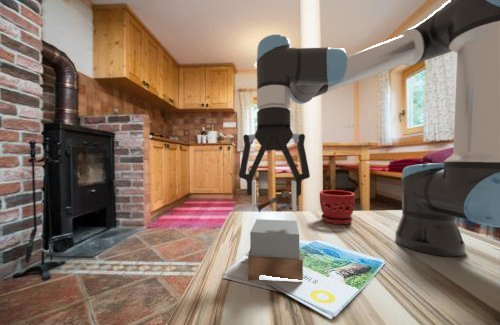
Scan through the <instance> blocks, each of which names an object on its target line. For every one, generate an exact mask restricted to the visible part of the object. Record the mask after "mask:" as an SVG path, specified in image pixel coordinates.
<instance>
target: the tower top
mask: <svg viewBox="0 0 500 325" xmlns="http://www.w3.org/2000/svg"><path fill="white" fill-rule="evenodd" d="M299 231H300V230H299V227H298V222H297V220H285V219H284V220H283V219H256V220H255V222H254V224H253V226H252V228H251V230H250V233H249V235H250V237H249V238H250V239H249V240H250V242H249V243H250V246H249V251H250V256H259V257H275V258H290V259H299V251H300V232H299Z"/></svg>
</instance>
